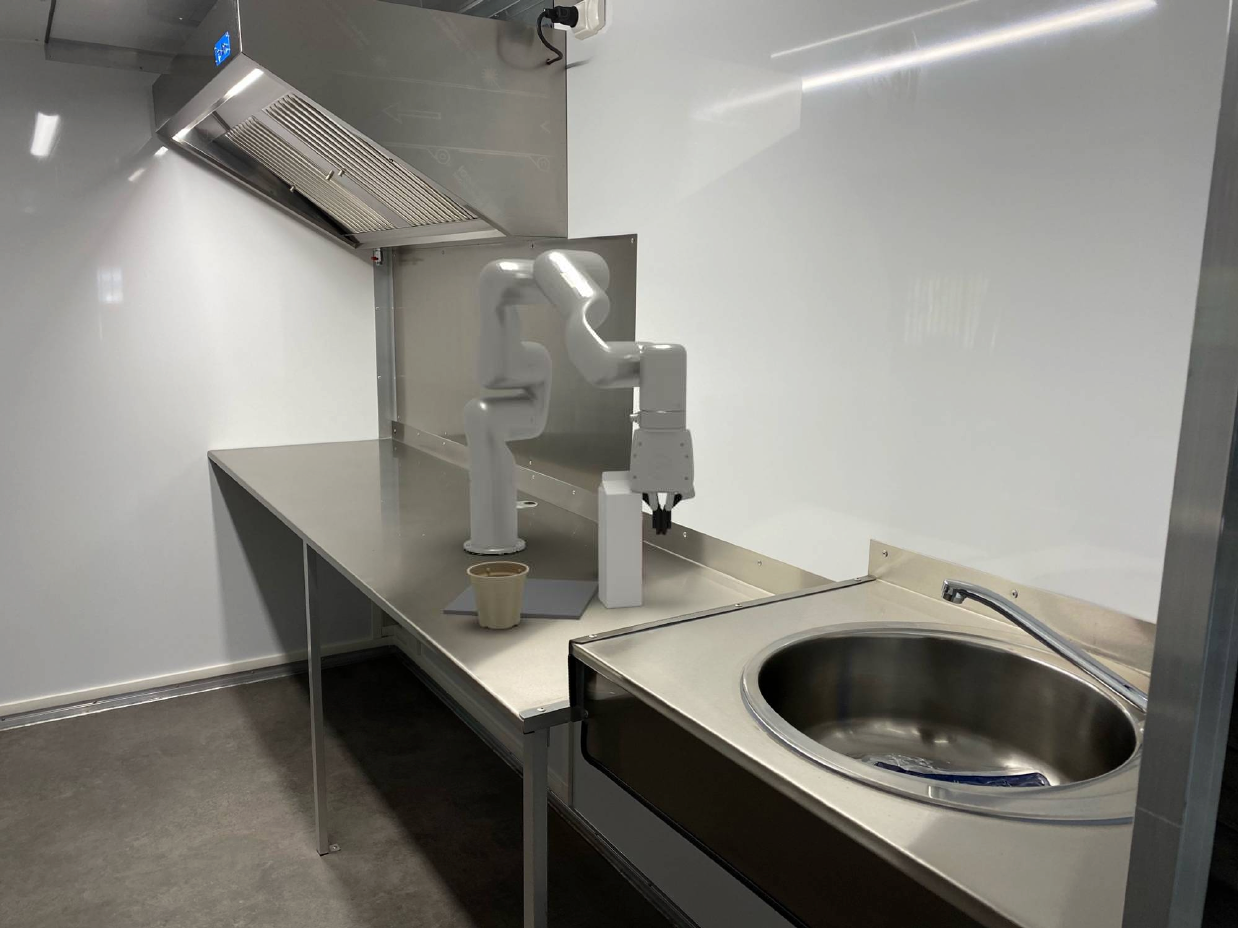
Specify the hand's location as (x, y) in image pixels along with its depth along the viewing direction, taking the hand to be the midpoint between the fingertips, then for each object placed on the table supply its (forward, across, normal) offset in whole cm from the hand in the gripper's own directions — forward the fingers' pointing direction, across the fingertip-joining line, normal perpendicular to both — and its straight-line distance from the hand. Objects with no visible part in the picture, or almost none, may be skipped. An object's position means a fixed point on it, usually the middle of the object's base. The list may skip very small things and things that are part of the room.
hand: (661, 532), depth 151 cm
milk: (+12, -7, 0) cm, 14 cm away
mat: (+12, -23, 0) cm, 26 cm away
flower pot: (+12, -24, -14) cm, 30 cm away
